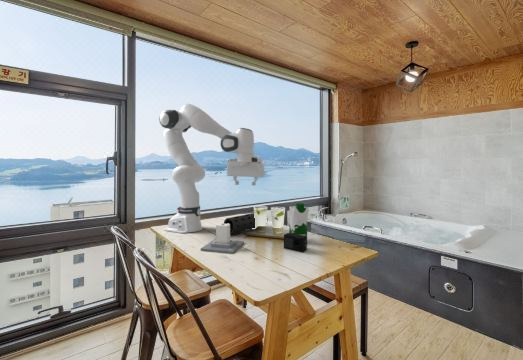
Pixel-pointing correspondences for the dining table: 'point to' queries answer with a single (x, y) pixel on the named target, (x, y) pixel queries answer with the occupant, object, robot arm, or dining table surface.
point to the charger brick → (223, 233)
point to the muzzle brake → (241, 223)
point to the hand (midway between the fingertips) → (245, 185)
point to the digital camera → (295, 242)
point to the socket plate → (223, 246)
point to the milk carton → (298, 219)
